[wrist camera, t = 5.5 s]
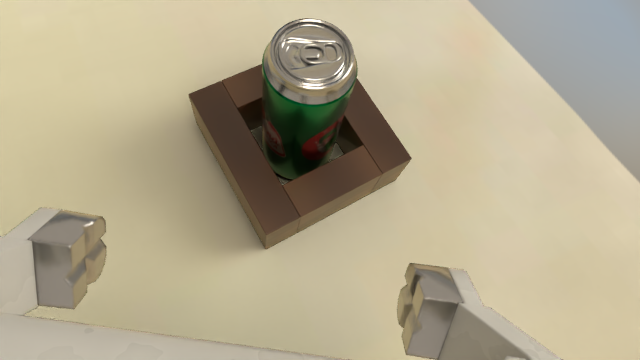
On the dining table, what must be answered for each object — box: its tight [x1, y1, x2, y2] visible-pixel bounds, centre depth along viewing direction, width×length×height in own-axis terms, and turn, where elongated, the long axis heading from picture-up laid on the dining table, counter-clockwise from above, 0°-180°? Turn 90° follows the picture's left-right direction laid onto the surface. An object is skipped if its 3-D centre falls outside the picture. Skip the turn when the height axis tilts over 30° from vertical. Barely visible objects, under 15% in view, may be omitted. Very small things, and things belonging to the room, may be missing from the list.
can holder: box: [189, 64, 412, 249], centre depth 32 cm, size 11×11×4 cm
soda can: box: [262, 19, 358, 179], centre depth 29 cm, size 5×5×12 cm
